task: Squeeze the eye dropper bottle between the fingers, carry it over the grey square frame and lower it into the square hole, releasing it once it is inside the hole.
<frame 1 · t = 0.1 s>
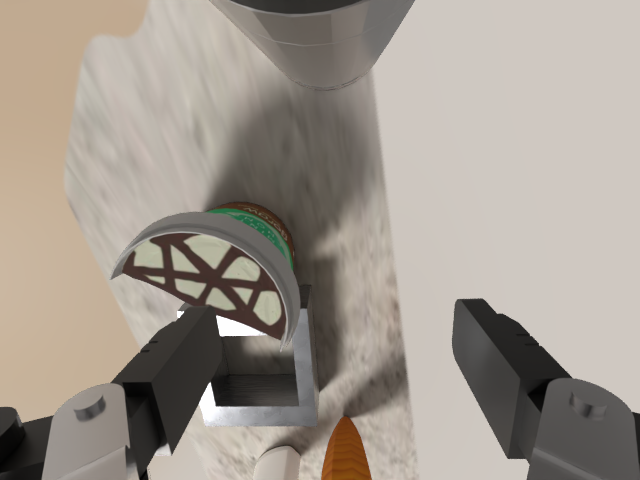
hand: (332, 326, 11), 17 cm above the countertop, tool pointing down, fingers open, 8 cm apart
eye dropper bottle: (278, 456, 38), on the countertop
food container: (255, 225, 28), on the countertop
carrot: (345, 415, 35), on the countertop
grey square frame: (261, 343, 32), on the countertop
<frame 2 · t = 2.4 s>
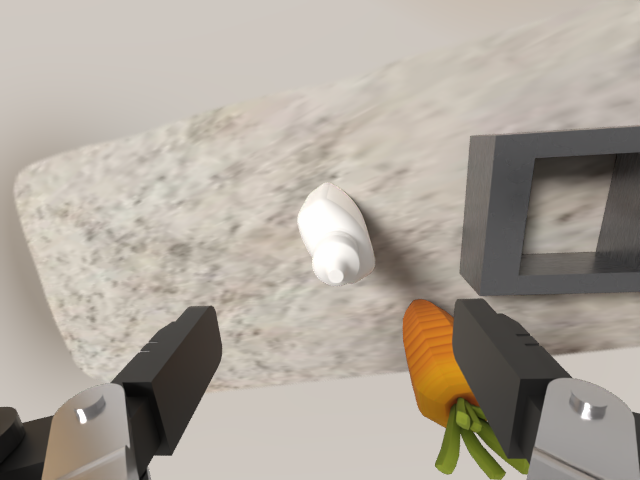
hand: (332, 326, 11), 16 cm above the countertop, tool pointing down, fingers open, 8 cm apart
eye dropper bottle: (337, 214, 26), on the countertop
carrot: (415, 301, 28), on the countertop
grey square frame: (551, 205, 24), on the countertop
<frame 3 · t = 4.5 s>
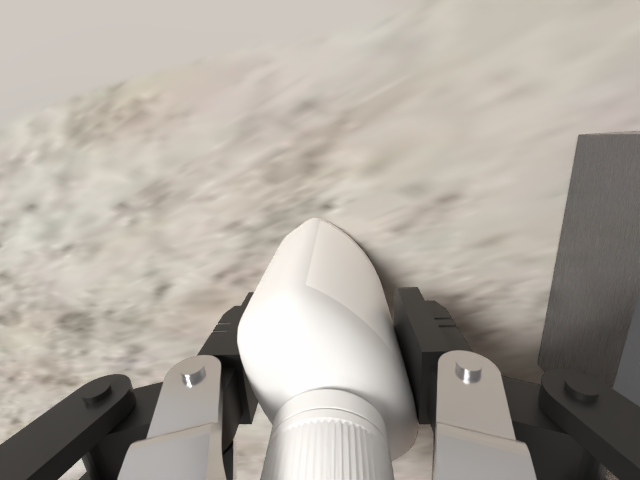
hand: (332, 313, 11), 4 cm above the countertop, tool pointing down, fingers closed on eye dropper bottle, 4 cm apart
eye dropper bottle: (334, 269, 15), on the countertop, touching gripper
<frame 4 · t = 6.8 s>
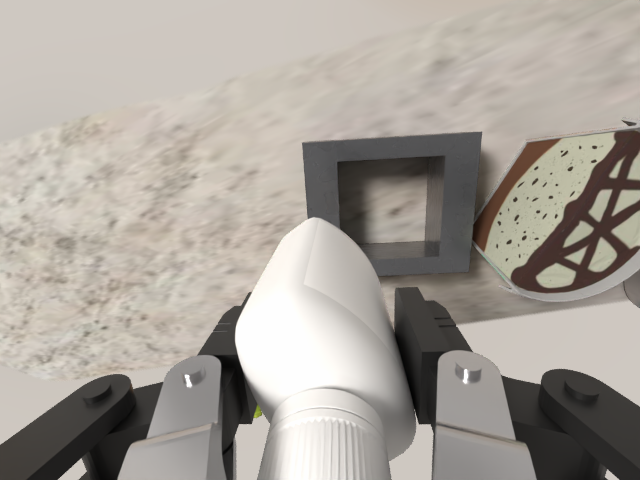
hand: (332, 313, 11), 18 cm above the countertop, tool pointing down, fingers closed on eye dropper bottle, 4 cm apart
eye dropper bottle: (333, 268, 15), point 14 cm above the countertop, touching gripper
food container: (520, 204, 28), on the countertop
grey square frame: (381, 201, 28), on the countertop
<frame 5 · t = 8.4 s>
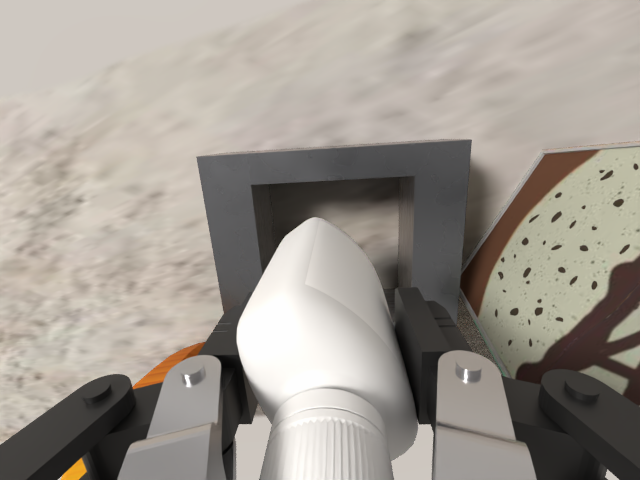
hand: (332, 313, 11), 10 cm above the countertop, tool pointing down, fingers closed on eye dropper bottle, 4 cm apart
eye dropper bottle: (334, 268, 15), point 6 cm above the countertop, touching gripper
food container: (533, 240, 20), on the countertop
carrot: (208, 343, 24), on the countertop
grey square frame: (335, 234, 20), on the countertop
when the fingers open (6 cm above the countertop, at t = 9.5 s): eye dropper bottle drops 2 cm, resting in grey square frame.
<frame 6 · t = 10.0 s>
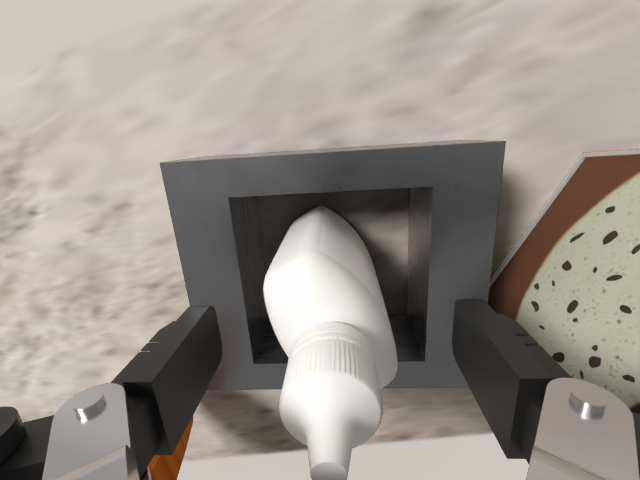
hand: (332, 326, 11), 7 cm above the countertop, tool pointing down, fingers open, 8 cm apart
eye dropper bottle: (334, 252, 18), resting in grey square frame
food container: (567, 259, 17), on the countertop
carrot: (188, 374, 21), on the countertop
grey square frame: (334, 252, 17), on the countertop
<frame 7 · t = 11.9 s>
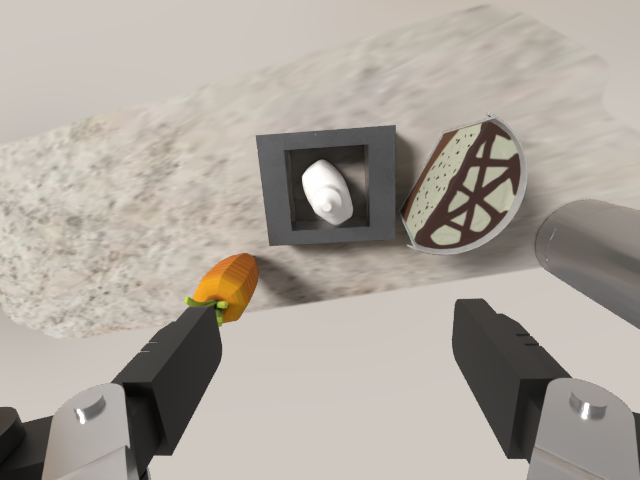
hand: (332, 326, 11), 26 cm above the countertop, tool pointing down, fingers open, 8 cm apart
eye dropper bottle: (328, 184, 35), resting in grey square frame
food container: (443, 185, 34), on the countertop
carrot: (250, 257, 38), on the countertop
grey square frame: (328, 183, 35), on the countertop
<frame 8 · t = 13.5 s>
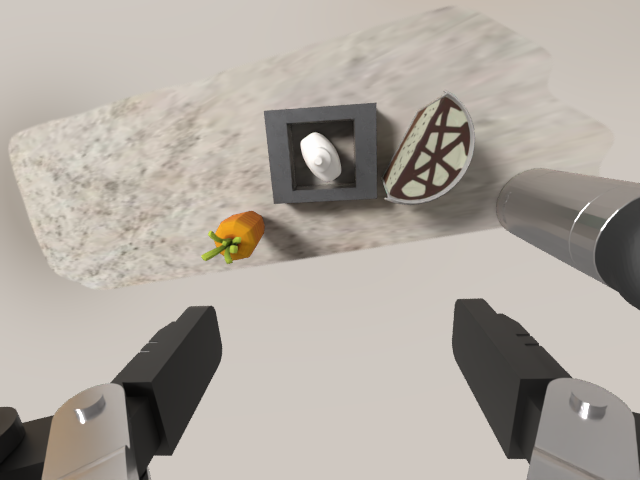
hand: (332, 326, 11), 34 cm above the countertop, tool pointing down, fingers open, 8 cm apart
eye dropper bottle: (323, 154, 42), resting in grey square frame
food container: (418, 156, 41), on the countertop
carrot: (257, 217, 45), on the countertop
grey square frame: (323, 154, 42), on the countertop
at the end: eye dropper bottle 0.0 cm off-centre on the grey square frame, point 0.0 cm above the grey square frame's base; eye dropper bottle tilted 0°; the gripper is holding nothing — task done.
